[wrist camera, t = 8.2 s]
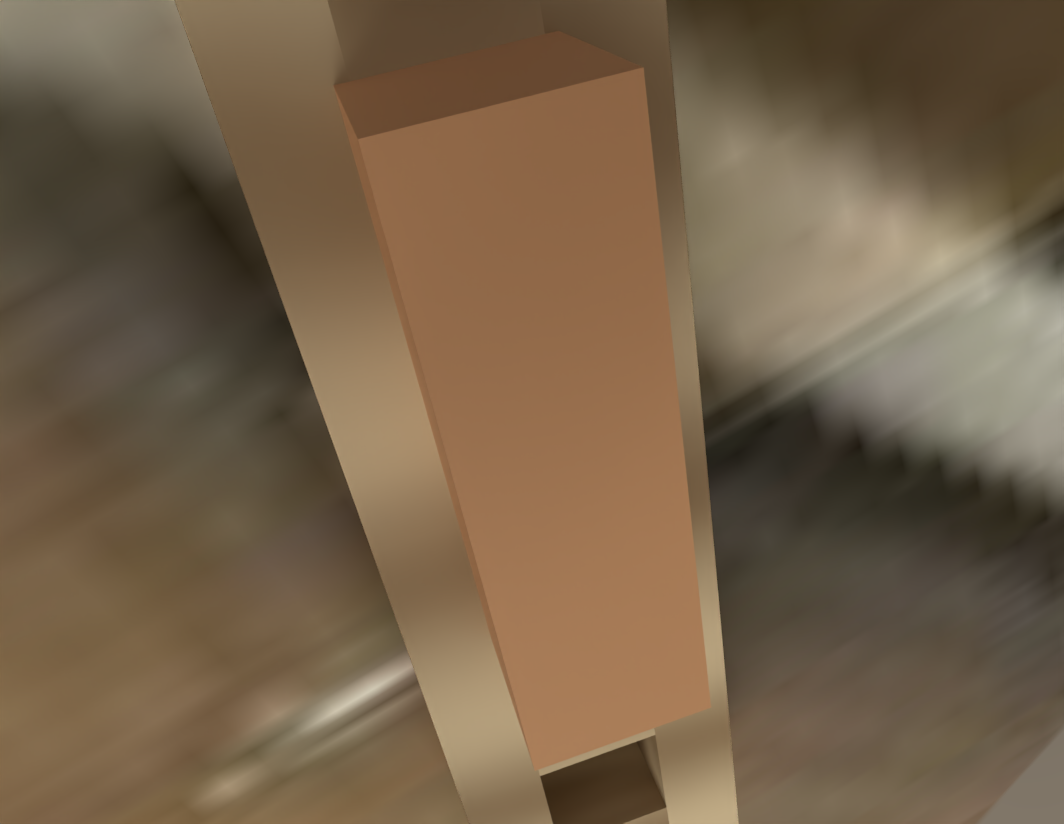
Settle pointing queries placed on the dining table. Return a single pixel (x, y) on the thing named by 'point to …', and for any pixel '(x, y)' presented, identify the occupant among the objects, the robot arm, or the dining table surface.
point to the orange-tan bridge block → (545, 370)
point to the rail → (392, 387)
